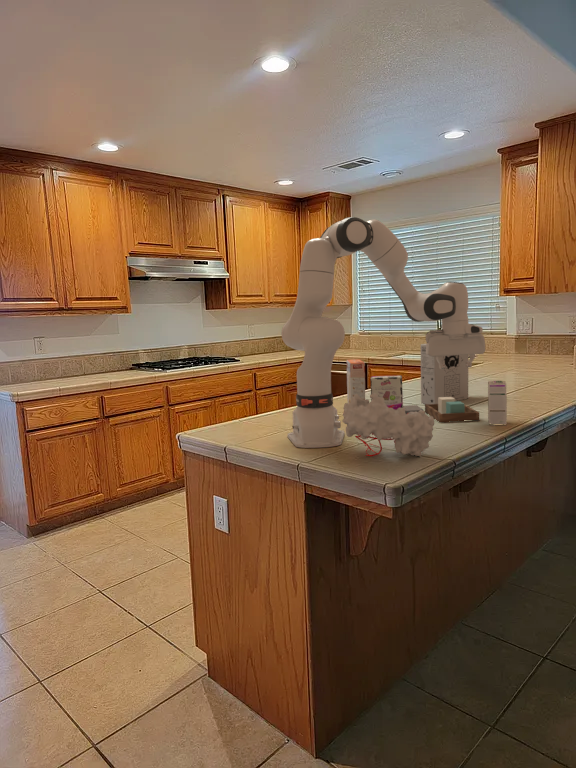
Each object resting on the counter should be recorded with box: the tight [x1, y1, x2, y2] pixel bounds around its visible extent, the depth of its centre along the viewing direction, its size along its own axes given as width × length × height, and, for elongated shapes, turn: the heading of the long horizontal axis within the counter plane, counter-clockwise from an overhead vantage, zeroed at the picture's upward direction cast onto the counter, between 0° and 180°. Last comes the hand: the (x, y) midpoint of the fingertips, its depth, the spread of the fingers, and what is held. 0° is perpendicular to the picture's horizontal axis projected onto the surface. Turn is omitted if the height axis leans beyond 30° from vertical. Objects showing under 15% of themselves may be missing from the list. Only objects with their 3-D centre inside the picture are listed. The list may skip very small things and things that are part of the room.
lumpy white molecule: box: [342, 393, 435, 457], centre depth 146 cm, size 20×18×25 cm
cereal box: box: [420, 343, 469, 405], centre depth 220 cm, size 22×8×25 cm, turn 124°
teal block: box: [446, 400, 466, 413], centre depth 187 cm, size 5×5×6 cm
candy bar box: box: [370, 375, 404, 410], centre depth 188 cm, size 11×5×16 cm, turn 76°
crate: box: [424, 404, 480, 423], centre depth 192 cm, size 19×14×3 cm
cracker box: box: [346, 358, 366, 404], centre depth 204 cm, size 14×6×21 cm, turn 179°
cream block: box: [438, 397, 456, 414], centre depth 197 cm, size 5×5×6 cm
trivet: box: [403, 404, 425, 414], centre depth 201 cm, size 10×10×2 cm
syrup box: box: [487, 380, 508, 424], centre depth 177 cm, size 6×6×14 cm
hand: (455, 368), depth 185 cm, fingers open, 8 cm apart
